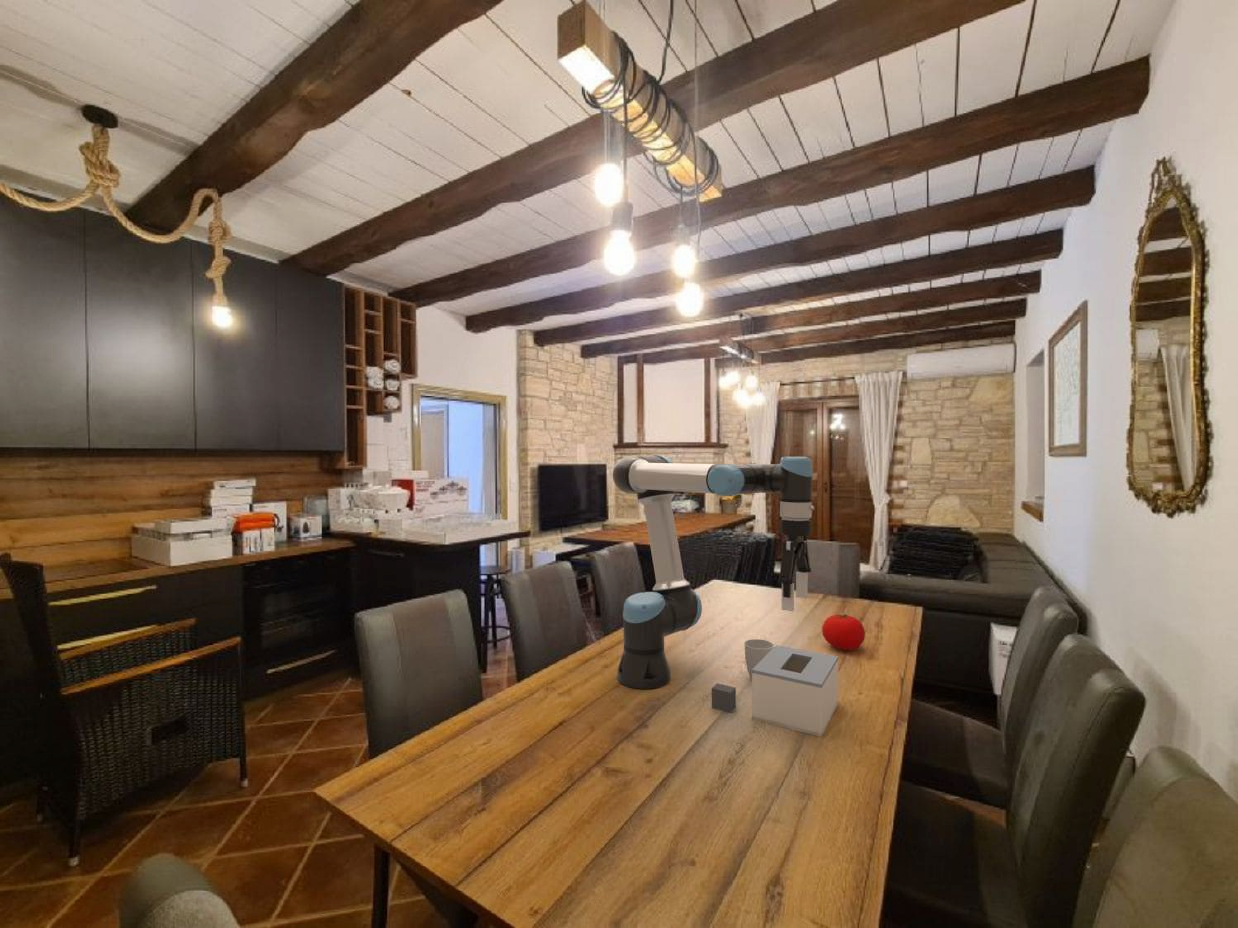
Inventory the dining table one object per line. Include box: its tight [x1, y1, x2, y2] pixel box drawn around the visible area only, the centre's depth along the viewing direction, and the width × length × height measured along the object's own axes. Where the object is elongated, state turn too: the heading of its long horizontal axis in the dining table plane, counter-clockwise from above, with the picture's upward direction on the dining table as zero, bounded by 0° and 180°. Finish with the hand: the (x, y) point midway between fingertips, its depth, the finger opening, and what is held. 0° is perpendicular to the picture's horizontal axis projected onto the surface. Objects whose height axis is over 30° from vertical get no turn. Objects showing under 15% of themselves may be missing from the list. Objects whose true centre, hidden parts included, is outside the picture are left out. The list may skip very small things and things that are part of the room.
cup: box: [743, 638, 775, 681], centre depth 154 cm, size 8×8×10 cm
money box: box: [751, 644, 839, 738], centre depth 135 cm, size 16×20×12 cm
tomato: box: [821, 614, 866, 651], centre depth 179 cm, size 12×13×11 cm
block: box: [711, 682, 737, 713], centre depth 137 cm, size 5×4×5 cm
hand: (794, 603), depth 135 cm, fingers open, 13 cm apart
